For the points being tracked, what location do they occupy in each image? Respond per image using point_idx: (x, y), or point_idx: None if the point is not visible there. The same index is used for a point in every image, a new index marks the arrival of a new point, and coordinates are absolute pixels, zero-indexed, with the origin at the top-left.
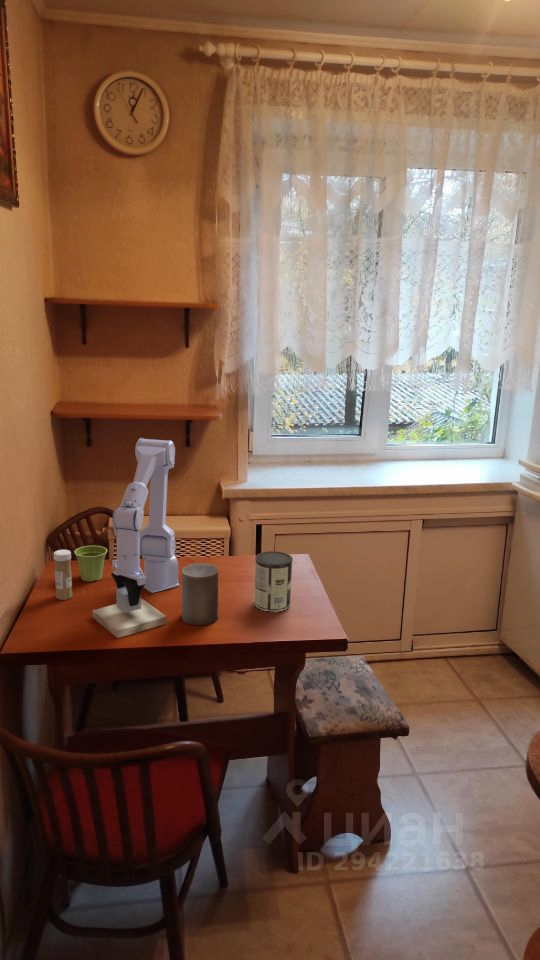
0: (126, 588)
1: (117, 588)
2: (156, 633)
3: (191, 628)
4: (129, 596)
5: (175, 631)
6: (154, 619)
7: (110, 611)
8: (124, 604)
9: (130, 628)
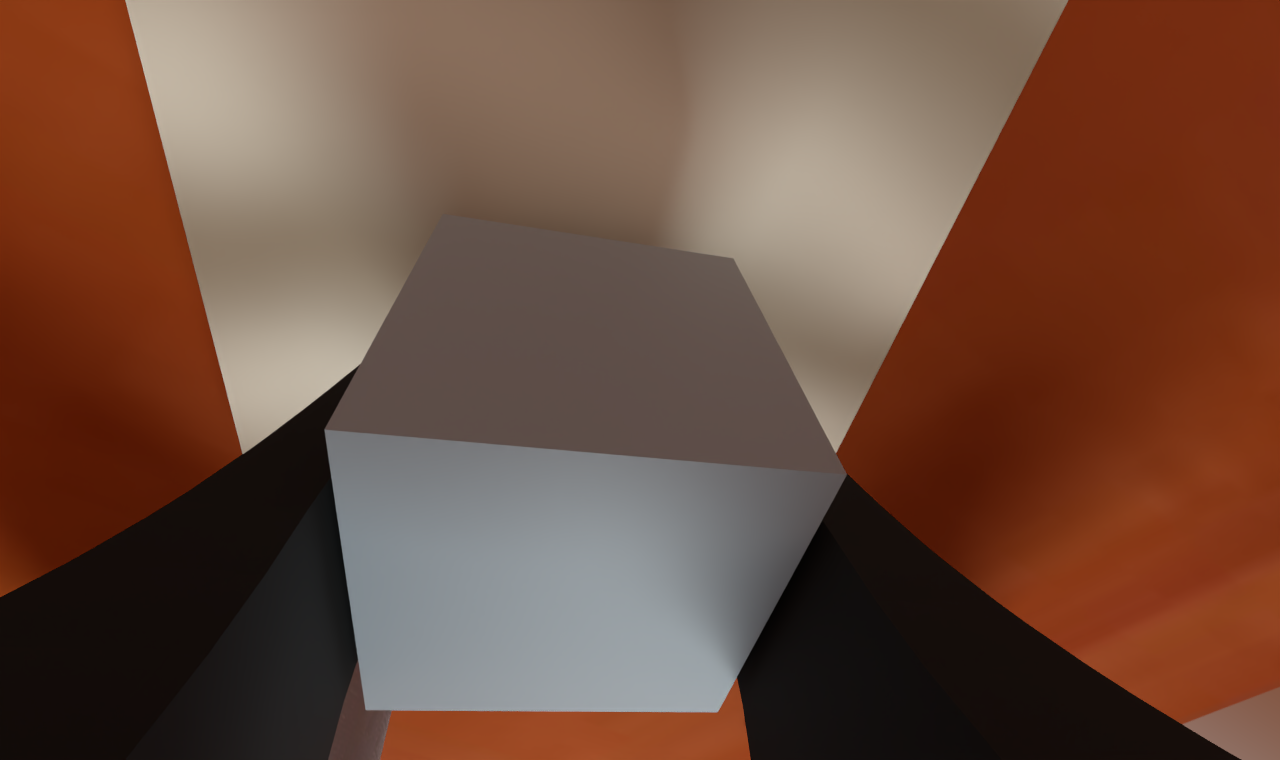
0: (134, 688)
1: (882, 507)
2: (107, 300)
3: (92, 546)
4: (220, 476)
5: (81, 443)
6: (247, 423)
7: (806, 181)
8: (420, 286)
9: (160, 63)
